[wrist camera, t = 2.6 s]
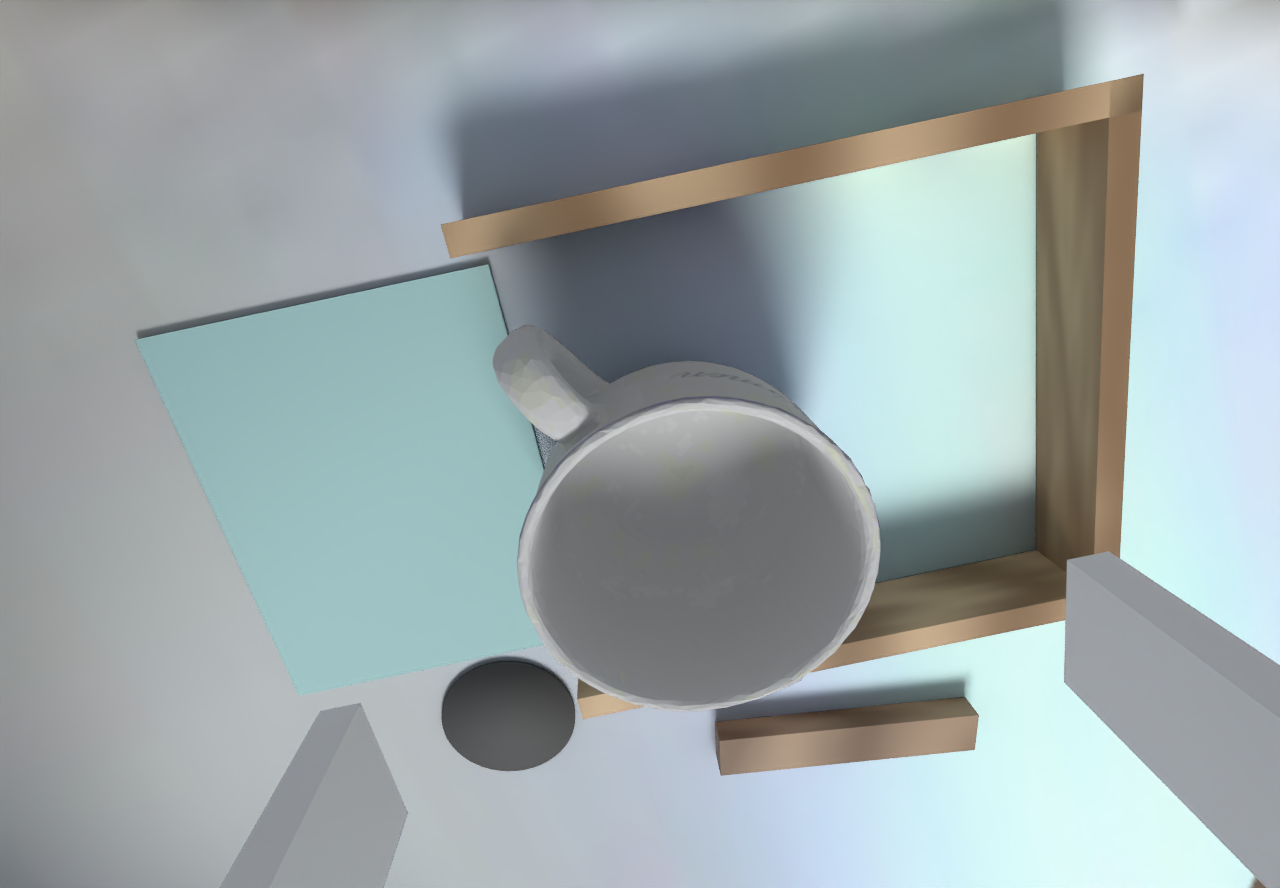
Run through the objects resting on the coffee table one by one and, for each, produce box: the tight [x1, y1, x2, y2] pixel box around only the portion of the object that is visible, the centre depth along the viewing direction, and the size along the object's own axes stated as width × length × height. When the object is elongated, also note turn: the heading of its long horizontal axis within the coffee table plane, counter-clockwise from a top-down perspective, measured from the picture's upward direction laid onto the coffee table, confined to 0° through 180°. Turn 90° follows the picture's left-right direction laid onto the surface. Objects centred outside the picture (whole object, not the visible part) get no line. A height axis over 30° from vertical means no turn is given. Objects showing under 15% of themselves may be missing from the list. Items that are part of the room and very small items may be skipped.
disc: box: [442, 661, 575, 771], centre depth 30 cm, size 6×6×1 cm
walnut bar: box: [715, 697, 979, 776], centre depth 31 cm, size 12×2×2 cm, turn 94°
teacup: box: [493, 325, 880, 711], centre depth 22 cm, size 14×11×8 cm
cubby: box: [441, 74, 1144, 719], centre depth 24 cm, size 22×19×4 cm
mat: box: [135, 264, 544, 695], centre depth 26 cm, size 13×16×1 cm
